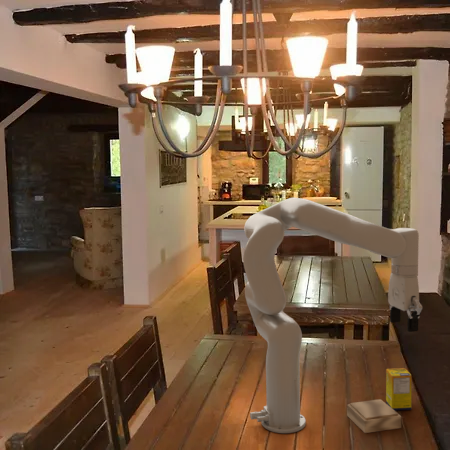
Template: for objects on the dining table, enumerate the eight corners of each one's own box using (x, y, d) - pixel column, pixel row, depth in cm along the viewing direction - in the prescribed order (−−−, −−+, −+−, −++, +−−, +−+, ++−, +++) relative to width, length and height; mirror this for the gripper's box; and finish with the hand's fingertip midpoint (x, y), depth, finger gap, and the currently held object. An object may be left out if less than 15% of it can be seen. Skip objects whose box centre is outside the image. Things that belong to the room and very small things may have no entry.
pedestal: (364, 433, 153) (364, 419, 153) (347, 415, 164) (347, 402, 164) (401, 427, 156) (401, 414, 155) (381, 411, 167) (381, 398, 166)
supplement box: (404, 401, 173) (405, 367, 171) (411, 410, 167) (412, 375, 165) (385, 402, 172) (385, 368, 171) (391, 411, 166) (392, 375, 165)
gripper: (378, 265, 172) (378, 319, 174) (409, 276, 156) (408, 336, 158) (400, 264, 174) (399, 317, 176) (433, 274, 157) (431, 333, 159)
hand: (403, 326), depth 167 cm, fingers open, 9 cm apart
